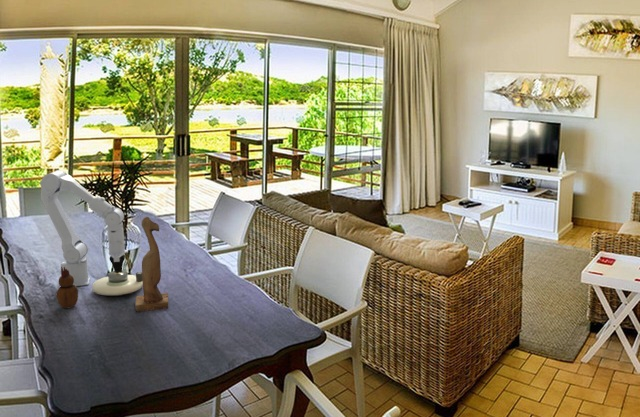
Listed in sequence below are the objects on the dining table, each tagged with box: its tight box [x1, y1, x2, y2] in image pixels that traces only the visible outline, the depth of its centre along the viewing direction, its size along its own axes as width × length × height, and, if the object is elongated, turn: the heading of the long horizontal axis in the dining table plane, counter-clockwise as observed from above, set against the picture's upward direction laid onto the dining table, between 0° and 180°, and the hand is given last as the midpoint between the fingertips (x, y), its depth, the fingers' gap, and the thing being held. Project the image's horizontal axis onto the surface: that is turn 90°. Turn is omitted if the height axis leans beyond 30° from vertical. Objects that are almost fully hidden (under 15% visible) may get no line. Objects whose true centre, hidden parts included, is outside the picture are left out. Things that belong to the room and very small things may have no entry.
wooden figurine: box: [56, 266, 79, 309], centre depth 199 cm, size 7×6×15 cm
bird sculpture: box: [134, 216, 169, 313], centre depth 200 cm, size 11×12×32 cm
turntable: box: [92, 271, 143, 296], centre depth 217 cm, size 18×18×5 cm
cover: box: [107, 269, 129, 283], centre depth 220 cm, size 7×7×3 cm
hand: (118, 274), depth 224 cm, fingers closed
